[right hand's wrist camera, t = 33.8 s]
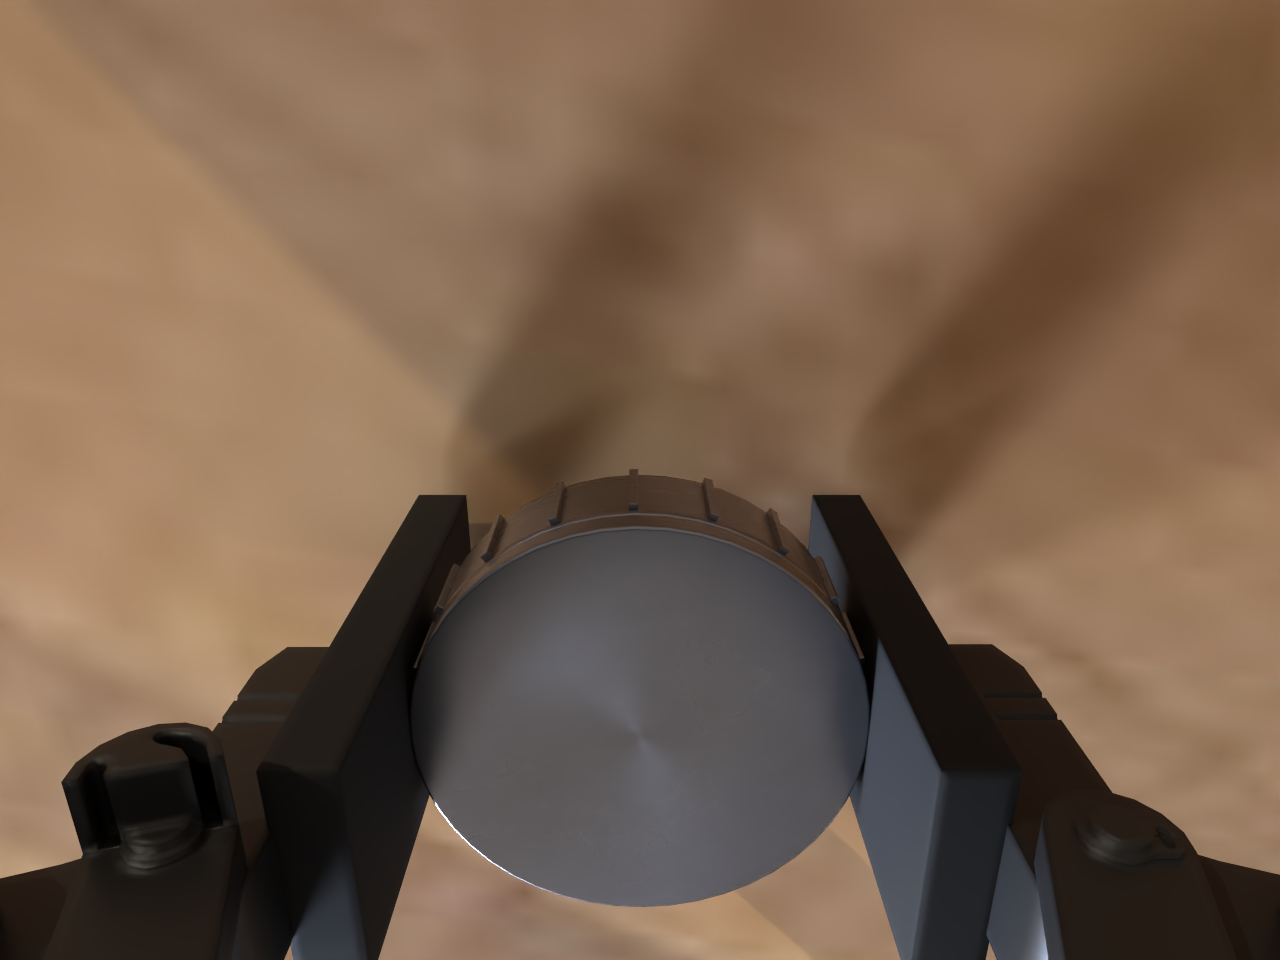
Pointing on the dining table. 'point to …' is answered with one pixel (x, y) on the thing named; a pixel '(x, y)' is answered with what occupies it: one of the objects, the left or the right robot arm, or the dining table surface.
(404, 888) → the dining table surface
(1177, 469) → the dining table surface
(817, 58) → the dining table surface
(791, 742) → the lid
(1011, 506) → the dining table surface
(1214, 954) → the right robot arm
